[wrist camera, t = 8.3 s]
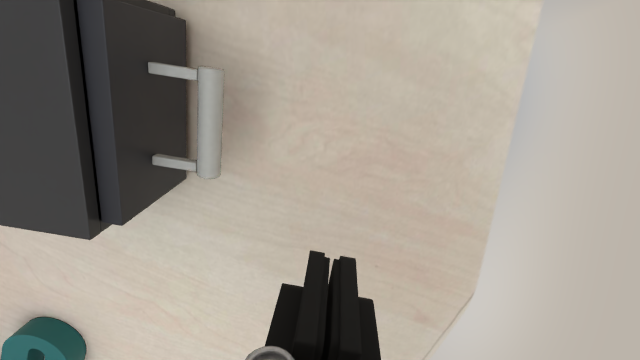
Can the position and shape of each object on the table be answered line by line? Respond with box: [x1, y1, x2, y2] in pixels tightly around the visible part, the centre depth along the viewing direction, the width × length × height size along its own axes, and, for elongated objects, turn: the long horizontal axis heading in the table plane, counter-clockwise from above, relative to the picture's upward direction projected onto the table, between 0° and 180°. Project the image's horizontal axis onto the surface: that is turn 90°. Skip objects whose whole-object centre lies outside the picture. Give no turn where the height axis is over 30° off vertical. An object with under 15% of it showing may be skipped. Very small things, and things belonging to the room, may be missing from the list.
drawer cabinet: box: [0, 0, 175, 240], centre depth 19 cm, size 15×13×10 cm
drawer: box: [75, 0, 224, 226], centre depth 19 cm, size 18×11×8 cm, turn 81°
